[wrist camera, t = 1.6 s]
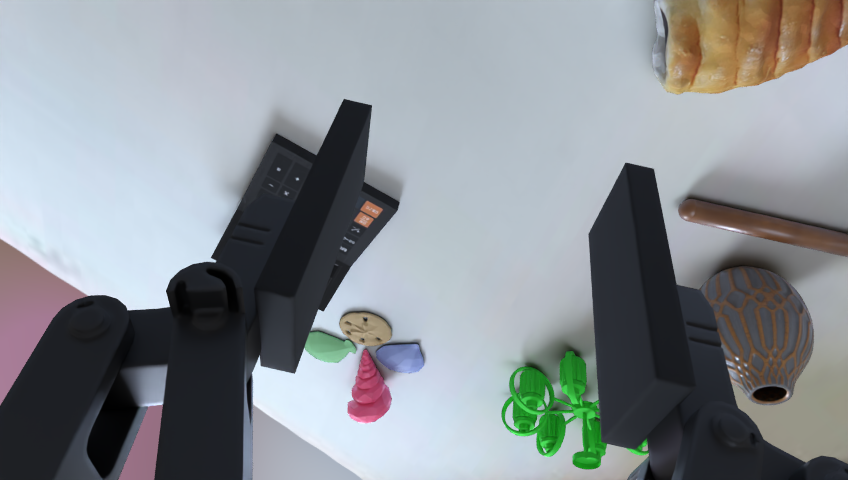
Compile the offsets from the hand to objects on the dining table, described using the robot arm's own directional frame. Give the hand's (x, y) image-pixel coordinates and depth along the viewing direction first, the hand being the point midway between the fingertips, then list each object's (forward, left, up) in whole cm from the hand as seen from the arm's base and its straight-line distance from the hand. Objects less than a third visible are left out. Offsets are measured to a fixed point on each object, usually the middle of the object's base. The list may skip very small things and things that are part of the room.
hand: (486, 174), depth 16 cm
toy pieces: (+37, -4, -17) cm, 41 cm away
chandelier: (+35, +16, -17) cm, 42 cm away
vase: (+18, +21, -17) cm, 33 cm away
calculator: (+21, -10, -17) cm, 29 cm away
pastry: (0, +11, -17) cm, 20 cm away
